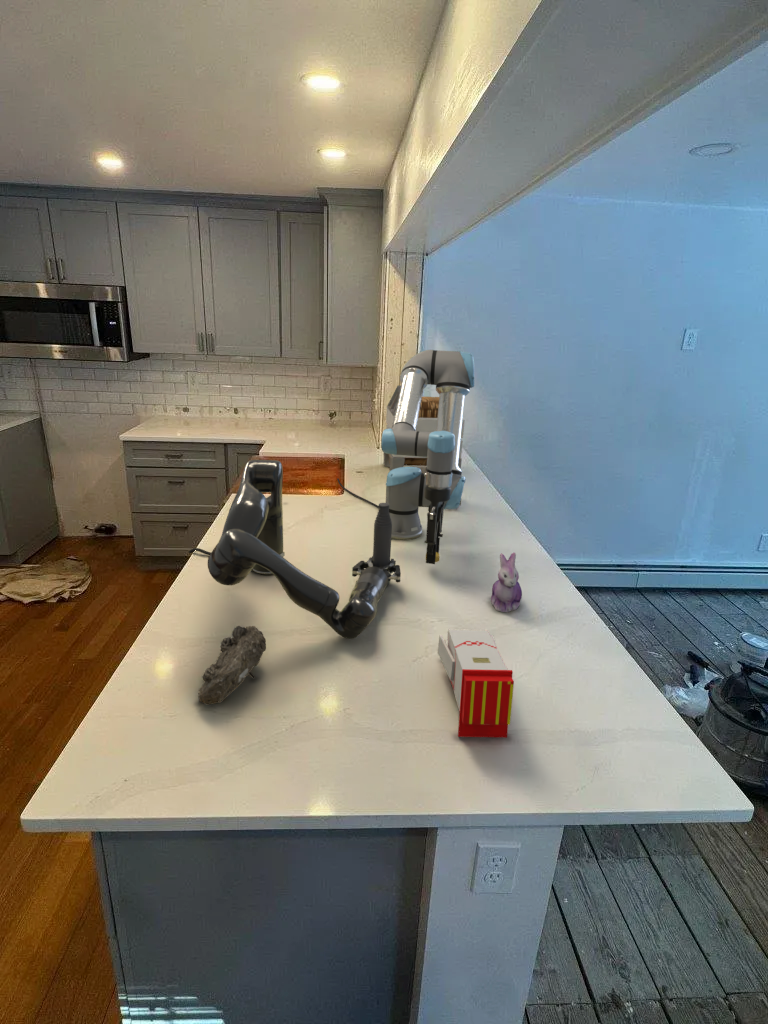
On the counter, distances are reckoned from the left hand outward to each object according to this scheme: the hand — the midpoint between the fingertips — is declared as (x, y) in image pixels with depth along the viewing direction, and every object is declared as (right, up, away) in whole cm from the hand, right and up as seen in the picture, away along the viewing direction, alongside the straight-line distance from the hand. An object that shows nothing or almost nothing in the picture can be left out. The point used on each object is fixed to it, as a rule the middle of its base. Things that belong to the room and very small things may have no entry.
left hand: (383, 560), depth 164 cm
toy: (+18, -24, -46) cm, 54 cm away
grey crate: (+17, +33, +111) cm, 117 cm away
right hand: (+15, 0, +7) cm, 16 cm away
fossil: (-31, -21, -44) cm, 58 cm away
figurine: (+33, -11, -10) cm, 37 cm away
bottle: (-1, -6, 0) cm, 7 cm away
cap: (+15, +1, +6) cm, 16 cm away
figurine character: (+28, +17, +67) cm, 75 cm away
